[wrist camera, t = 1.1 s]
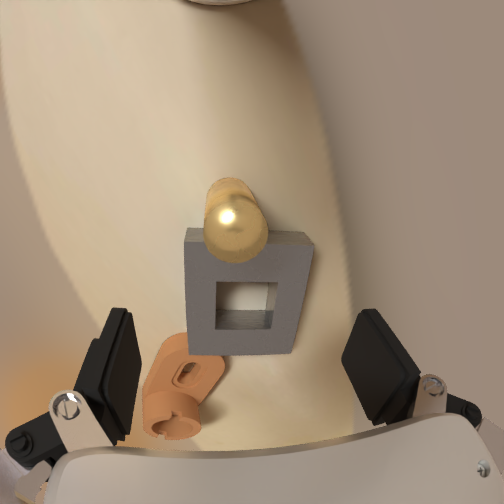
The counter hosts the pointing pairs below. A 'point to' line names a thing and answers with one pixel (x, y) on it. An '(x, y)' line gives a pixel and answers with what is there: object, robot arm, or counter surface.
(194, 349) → the plate
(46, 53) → the counter surface
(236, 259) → the gold rounded cylinder
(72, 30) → the counter surface
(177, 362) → the bracket
